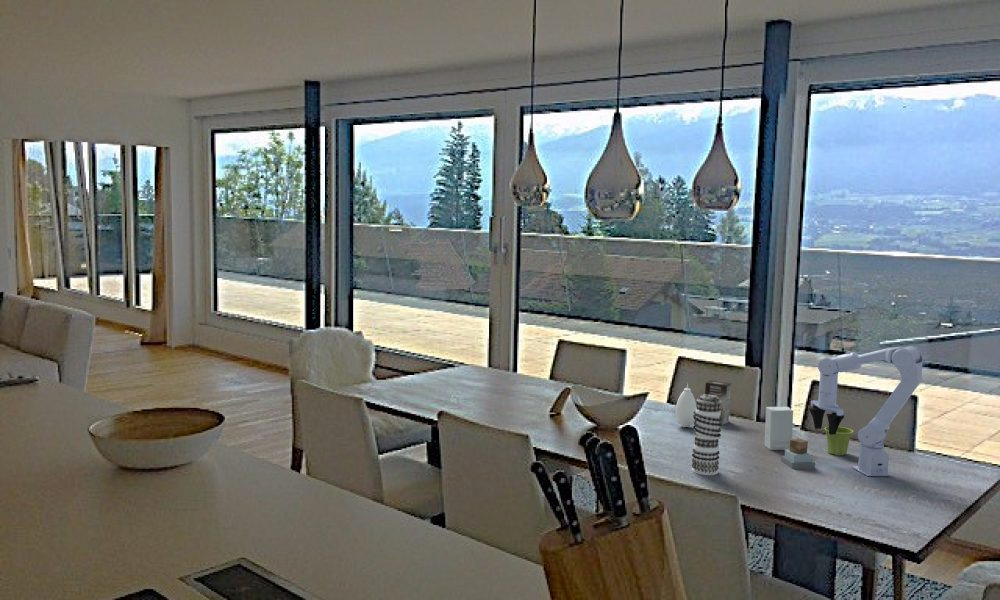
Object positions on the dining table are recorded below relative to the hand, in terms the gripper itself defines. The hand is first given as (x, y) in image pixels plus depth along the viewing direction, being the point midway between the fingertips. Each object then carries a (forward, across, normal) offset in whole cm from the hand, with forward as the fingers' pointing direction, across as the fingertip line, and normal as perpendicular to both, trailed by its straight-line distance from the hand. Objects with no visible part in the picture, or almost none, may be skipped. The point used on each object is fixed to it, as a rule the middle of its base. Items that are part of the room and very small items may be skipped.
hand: (825, 431), depth 289 cm
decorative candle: (+11, -2, +47) cm, 48 cm away
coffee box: (+11, +57, +7) cm, 59 cm away
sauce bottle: (+11, +51, +25) cm, 58 cm away
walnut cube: (+6, -2, +12) cm, 13 cm away
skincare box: (+11, +17, +6) cm, 21 cm away
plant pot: (+11, +7, -11) cm, 17 cm away
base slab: (+11, -2, +12) cm, 16 cm away
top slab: (+8, -2, +12) cm, 15 cm away
